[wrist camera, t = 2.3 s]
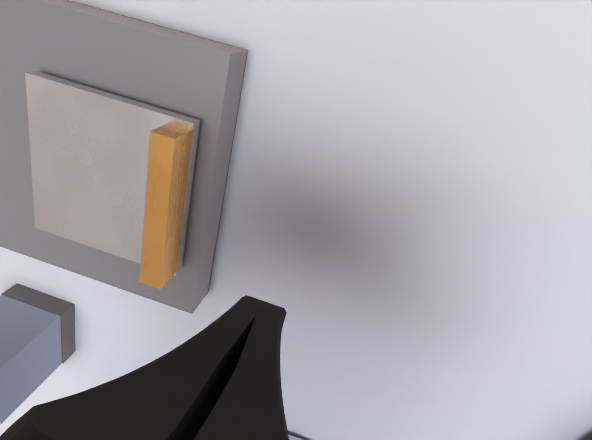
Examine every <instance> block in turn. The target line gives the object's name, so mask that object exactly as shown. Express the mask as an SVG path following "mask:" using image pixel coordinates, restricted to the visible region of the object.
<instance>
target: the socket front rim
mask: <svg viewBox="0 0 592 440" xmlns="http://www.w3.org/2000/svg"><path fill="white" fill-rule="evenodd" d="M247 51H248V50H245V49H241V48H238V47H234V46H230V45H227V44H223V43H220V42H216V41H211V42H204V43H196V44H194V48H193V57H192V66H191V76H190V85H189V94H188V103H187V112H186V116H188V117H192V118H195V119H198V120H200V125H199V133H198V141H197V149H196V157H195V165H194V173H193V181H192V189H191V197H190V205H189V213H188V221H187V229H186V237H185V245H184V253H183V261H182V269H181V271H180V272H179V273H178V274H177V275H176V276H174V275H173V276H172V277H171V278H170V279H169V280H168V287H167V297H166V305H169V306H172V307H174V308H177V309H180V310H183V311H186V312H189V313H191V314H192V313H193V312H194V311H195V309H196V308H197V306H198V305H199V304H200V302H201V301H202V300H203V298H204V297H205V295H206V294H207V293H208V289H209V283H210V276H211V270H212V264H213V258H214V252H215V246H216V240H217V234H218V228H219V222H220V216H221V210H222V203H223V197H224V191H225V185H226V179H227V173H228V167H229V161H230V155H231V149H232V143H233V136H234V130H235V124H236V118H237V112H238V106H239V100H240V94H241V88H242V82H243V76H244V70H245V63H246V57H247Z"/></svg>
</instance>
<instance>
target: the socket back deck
mask: <svg viewBox="0 0 592 440" xmlns="http://www.w3.org/2000/svg"><path fill="white" fill-rule="evenodd" d="M55 5H81V6H87V5H83V4H80V3H76V2H72V1H69V0H0V246H1V247H4V248H7V249H9V250H12V251H15V252H18V253H21V254H24V255H26V256H29V257H32V258H35V259H38V260H41V261H44V262H46V263H49V264H52V265H55V266H58V267H61V268H63V248H62V237H61V236H58V235H55V234H52V233H49V232H46V231H43V230H40V229H37V228H35V217H34V202H33V186H32V171H31V156H30V140H29V125H28V110H27V94H26V79H25V72H32V71H38V72H42V73H45V74H48V75H52V76H55V77H57V59H56V28H55Z"/></svg>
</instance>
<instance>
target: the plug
mask: <svg viewBox="0 0 592 440" xmlns="http://www.w3.org/2000/svg"><path fill="white" fill-rule="evenodd" d="M74 352H75V307H74V304H73V303H70V302H67V301H64V300H61V299H59V298H56V297H53V296H50V295H48V294H45V293H42V292H39V291H37V290H34V289H31V288H28V287H25V286H23V285H20V284H15V285H14V286H12V287H11V288H9V289H8V290H7V291H5V292H4V293H2V295H1V296H0V424H2V423H3V422H4V421H5V420H6V419H7V418H8V417H9V416H10V415H11V414H12V413H13V412H14V411H15V409H16V408H17V407H18V406H19V405H20V404H21V403H22V402H23V401H24V400H25V399H26V398H27V397H28V396H29V395H30V394H31V393H32V392H33V391H34V390H35V389H36V388H37V387H38V386H39V385H40V384H41V383H42V382H43V381H44V380H45V379H46V378H47V377H48V376H49V375H50V374H51V373H52V372H53V371H54V370H55V369H56V368H57V367H58V366H59V365H60V364H61V363H64V362H65V361H66V360H67V359H68V358H69V357H70V356H71V355H72V354H73V353H74Z"/></svg>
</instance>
